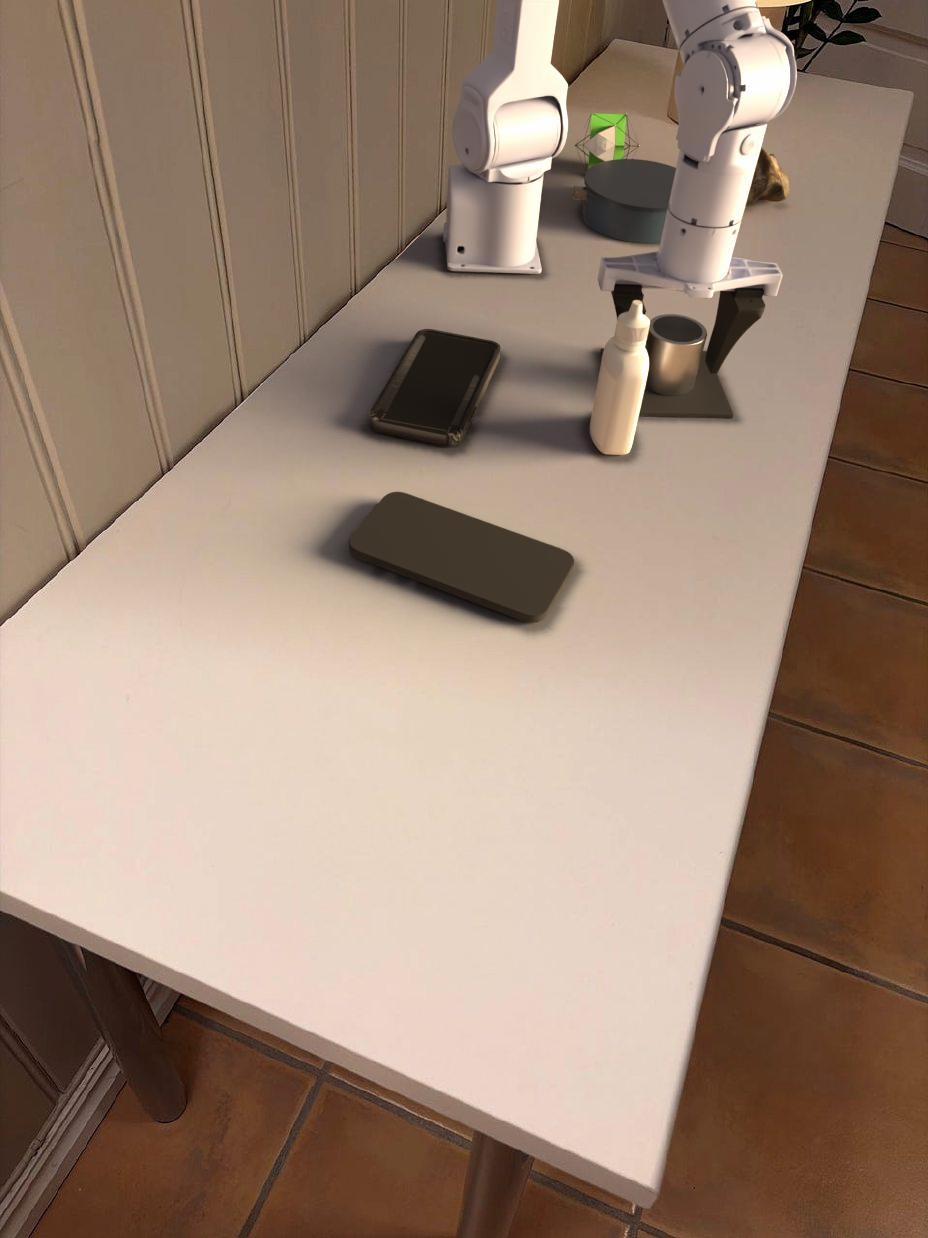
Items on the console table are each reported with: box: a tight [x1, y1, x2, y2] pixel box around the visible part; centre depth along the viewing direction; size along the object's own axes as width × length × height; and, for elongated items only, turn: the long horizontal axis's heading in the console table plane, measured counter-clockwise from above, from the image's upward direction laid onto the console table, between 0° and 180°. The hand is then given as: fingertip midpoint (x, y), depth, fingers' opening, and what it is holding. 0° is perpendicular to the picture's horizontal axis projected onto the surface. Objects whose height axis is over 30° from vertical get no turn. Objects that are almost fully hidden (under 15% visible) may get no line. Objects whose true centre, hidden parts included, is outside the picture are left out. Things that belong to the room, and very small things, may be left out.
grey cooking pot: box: [572, 158, 676, 244], centre depth 108 cm, size 15×13×4 cm
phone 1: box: [369, 328, 502, 448], centre depth 83 cm, size 8×1×15 cm
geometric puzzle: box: [574, 112, 641, 172], centre depth 115 cm, size 7×7×8 cm
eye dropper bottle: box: [589, 300, 651, 456], centre depth 76 cm, size 4×6×12 cm
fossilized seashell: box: [745, 146, 790, 208], centre depth 113 cm, size 8×7×10 cm
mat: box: [600, 347, 734, 419], centre depth 86 cm, size 10×10×1 cm
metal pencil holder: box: [645, 313, 708, 396], centre depth 84 cm, size 5×5×5 cm
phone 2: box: [347, 491, 575, 624], centre depth 69 cm, size 7×1×15 cm
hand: (668, 366), depth 85 cm, fingers open, 7 cm apart
